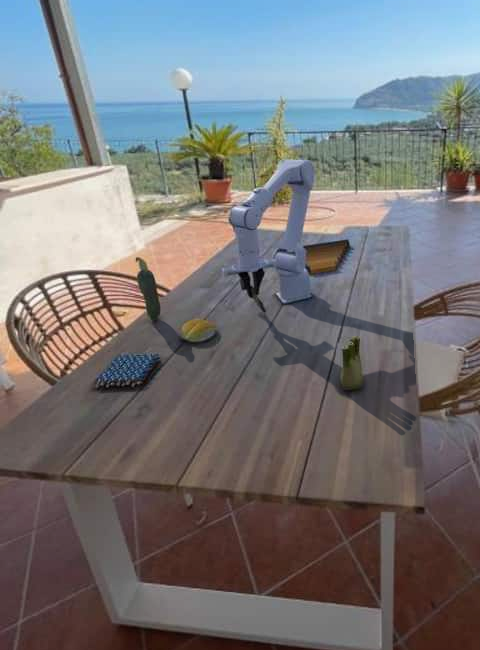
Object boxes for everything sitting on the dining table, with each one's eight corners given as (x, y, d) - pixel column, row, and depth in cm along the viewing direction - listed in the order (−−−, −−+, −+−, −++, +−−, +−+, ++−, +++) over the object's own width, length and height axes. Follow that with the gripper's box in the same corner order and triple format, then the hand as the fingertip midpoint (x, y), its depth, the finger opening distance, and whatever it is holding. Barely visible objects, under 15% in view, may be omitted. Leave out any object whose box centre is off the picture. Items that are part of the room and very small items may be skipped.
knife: (270, 322, 103) (268, 306, 101) (264, 324, 102) (263, 307, 100) (245, 286, 121) (243, 272, 119) (240, 287, 121) (239, 273, 119)
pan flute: (346, 245, 175) (292, 253, 165) (346, 238, 173) (291, 246, 163) (371, 264, 153) (310, 275, 144) (371, 256, 152) (310, 266, 142)
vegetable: (166, 318, 114) (153, 255, 107) (155, 326, 110) (140, 261, 103) (155, 316, 115) (141, 253, 108) (143, 323, 112) (128, 259, 104)
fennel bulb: (344, 396, 84) (344, 349, 79) (335, 383, 88) (333, 337, 83) (368, 387, 86) (368, 341, 82) (357, 375, 90) (357, 330, 86)
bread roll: (201, 323, 112) (199, 311, 110) (221, 332, 107) (219, 320, 106) (174, 336, 105) (172, 323, 104) (195, 347, 101) (192, 333, 99)
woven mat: (117, 360, 96) (115, 353, 95) (161, 358, 96) (160, 351, 95) (93, 388, 86) (90, 381, 85) (142, 386, 86) (140, 379, 86)
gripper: (224, 259, 99) (230, 306, 104) (278, 249, 106) (282, 294, 111) (218, 250, 105) (224, 296, 109) (270, 242, 111) (274, 284, 116)
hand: (253, 294), depth 110 cm, fingers closed on knife, 1 cm apart
